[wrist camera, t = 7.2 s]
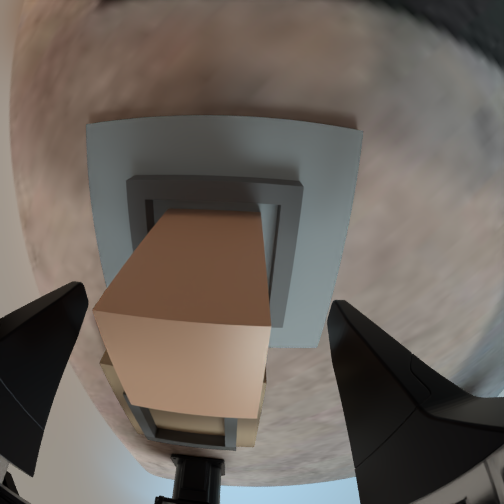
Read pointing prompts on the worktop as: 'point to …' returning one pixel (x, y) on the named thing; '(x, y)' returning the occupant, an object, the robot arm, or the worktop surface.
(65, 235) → the worktop surface
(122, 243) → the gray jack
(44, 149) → the worktop surface
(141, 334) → the plug
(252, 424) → the beige square socket
